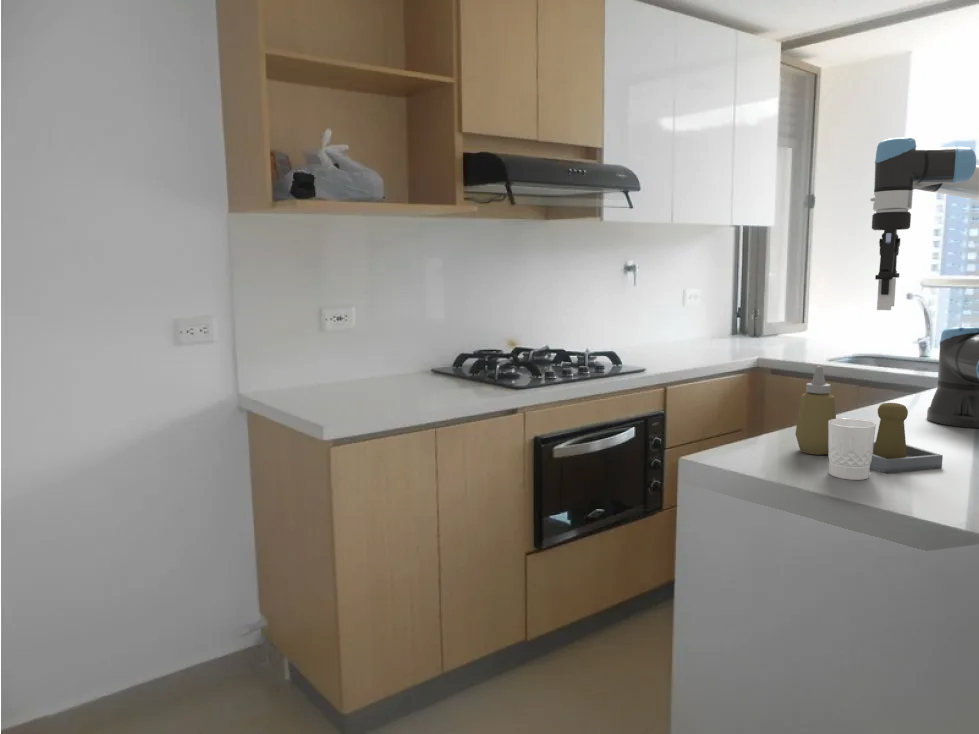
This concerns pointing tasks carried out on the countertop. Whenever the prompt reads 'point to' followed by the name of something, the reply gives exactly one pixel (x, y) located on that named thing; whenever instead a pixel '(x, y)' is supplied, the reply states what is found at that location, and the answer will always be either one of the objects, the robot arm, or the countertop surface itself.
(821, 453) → the squeeze bottle
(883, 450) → the cork
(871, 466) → the tray
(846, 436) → the white cup
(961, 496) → the countertop surface
